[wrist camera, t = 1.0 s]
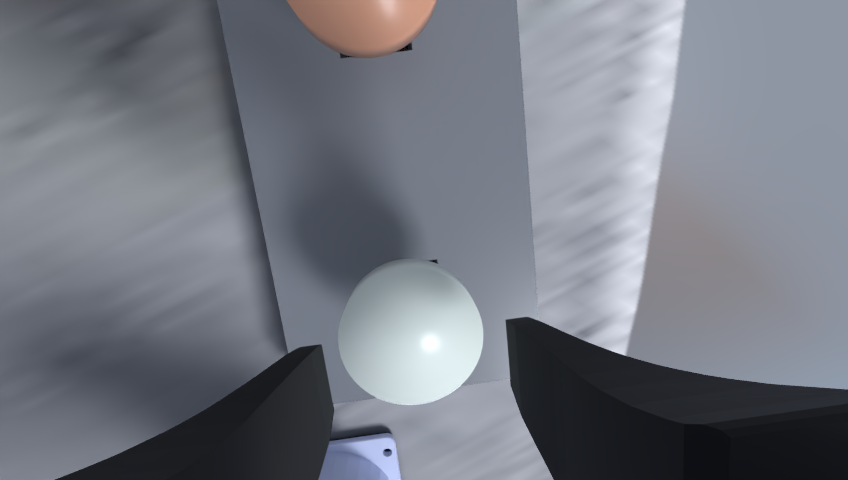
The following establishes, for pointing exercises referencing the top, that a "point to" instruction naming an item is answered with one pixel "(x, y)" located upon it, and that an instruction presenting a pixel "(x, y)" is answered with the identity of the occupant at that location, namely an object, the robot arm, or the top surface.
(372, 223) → the block
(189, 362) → the top surface
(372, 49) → the orange-brown rounded piece
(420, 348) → the sage plunger
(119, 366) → the top surface
